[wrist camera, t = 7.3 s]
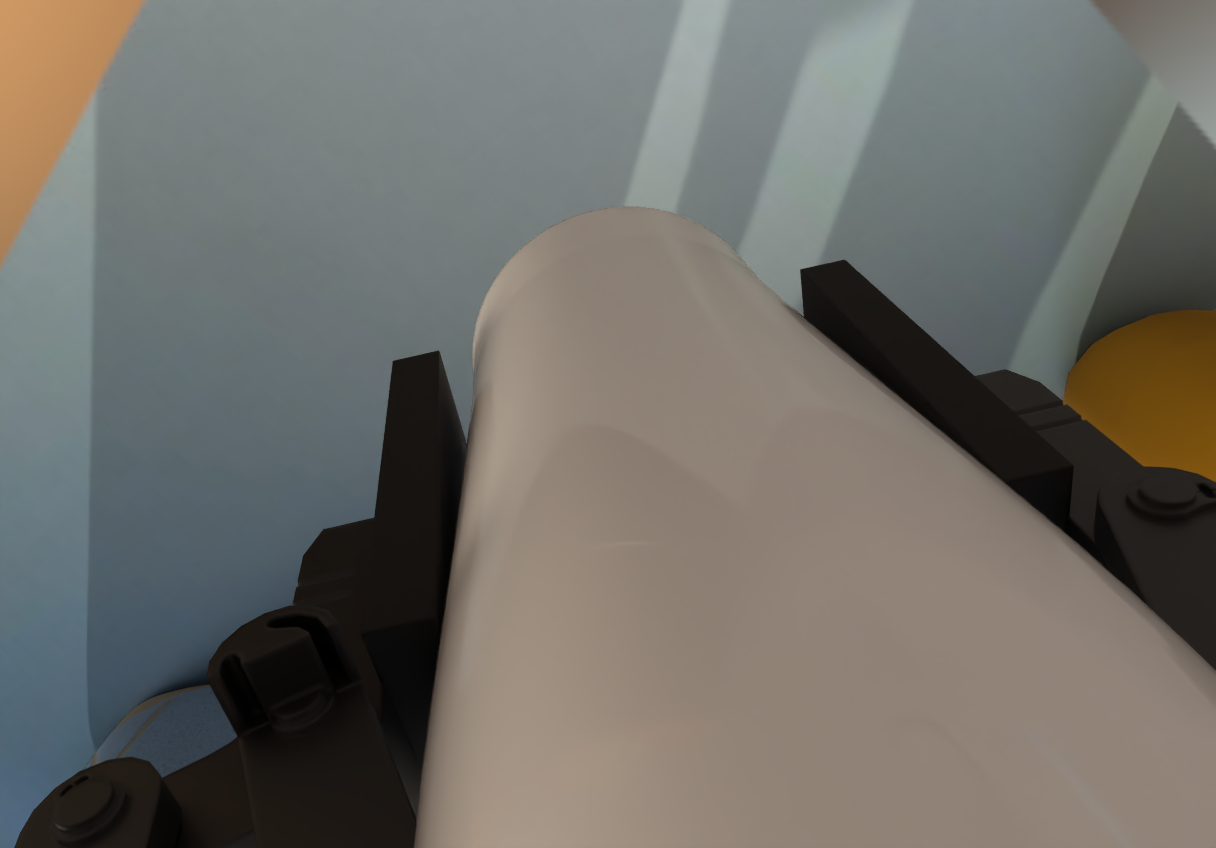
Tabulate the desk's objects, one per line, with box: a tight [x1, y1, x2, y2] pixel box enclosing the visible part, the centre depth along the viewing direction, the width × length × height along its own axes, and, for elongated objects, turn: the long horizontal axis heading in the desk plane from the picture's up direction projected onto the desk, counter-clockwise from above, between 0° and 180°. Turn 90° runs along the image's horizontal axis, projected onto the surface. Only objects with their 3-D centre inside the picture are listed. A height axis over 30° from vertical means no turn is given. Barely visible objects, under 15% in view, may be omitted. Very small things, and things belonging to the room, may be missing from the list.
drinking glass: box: [414, 206, 1216, 848], centre depth 11 cm, size 7×7×15 cm
